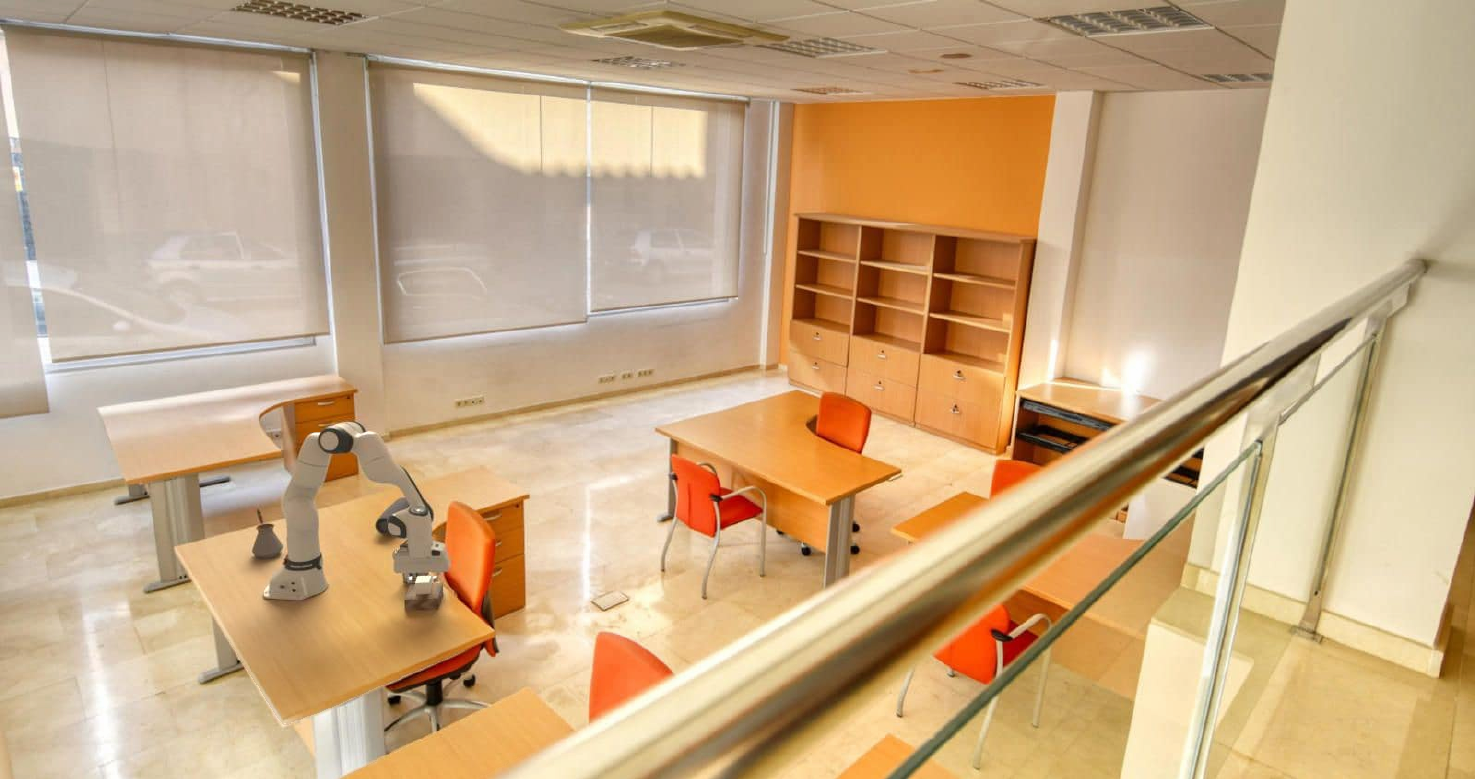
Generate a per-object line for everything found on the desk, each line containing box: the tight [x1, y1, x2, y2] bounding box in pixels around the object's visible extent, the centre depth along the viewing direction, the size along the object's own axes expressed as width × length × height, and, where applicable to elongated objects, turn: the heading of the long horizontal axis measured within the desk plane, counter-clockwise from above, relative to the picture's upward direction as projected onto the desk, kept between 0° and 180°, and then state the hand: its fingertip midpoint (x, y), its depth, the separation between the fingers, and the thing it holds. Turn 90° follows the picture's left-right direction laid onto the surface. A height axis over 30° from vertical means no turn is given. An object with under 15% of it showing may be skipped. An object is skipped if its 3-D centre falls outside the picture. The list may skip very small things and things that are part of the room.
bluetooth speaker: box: [374, 496, 410, 536], centre depth 394 cm, size 23×9×10 cm, turn 179°
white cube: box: [414, 575, 433, 595], centre depth 332 cm, size 5×5×5 cm
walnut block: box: [403, 582, 444, 612], centre depth 333 cm, size 12×12×5 cm
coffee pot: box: [251, 508, 284, 560], centre depth 367 cm, size 21×12×15 cm, turn 37°
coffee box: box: [399, 539, 430, 584], centre depth 350 cm, size 9×6×16 cm
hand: (423, 581), depth 332 cm, fingers open, 8 cm apart
